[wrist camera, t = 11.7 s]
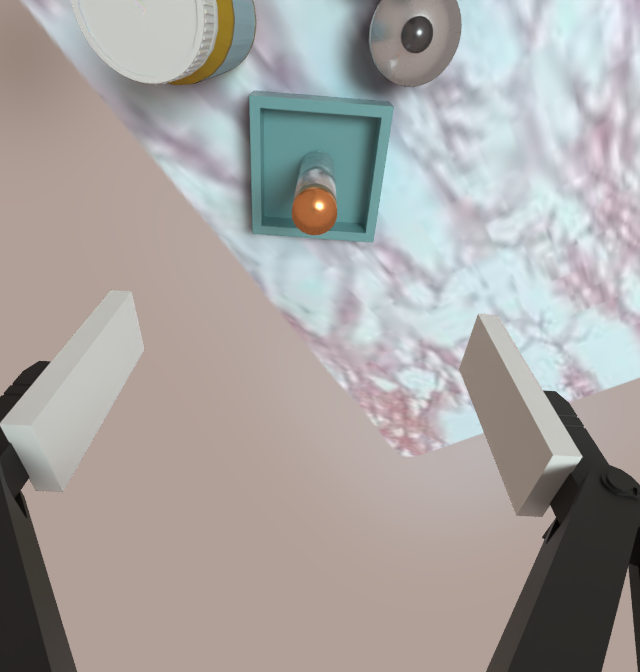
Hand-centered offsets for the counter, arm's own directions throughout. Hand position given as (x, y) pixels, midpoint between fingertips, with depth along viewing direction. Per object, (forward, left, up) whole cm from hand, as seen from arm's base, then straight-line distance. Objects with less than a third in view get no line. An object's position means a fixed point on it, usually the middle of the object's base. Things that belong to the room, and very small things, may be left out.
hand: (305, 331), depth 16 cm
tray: (0, 0, -26) cm, 26 cm away
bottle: (-10, -9, -26) cm, 29 cm away
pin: (0, 0, -25) cm, 25 cm away
